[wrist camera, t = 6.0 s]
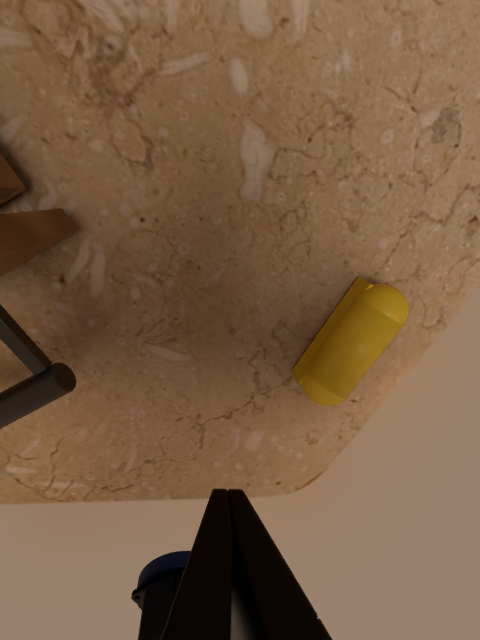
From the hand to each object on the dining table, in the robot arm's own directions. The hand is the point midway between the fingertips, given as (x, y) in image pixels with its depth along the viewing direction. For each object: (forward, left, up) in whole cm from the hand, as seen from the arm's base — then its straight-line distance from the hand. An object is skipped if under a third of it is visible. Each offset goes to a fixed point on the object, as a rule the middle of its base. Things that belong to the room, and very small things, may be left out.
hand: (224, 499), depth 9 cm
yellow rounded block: (-4, -7, -11) cm, 14 cm away
